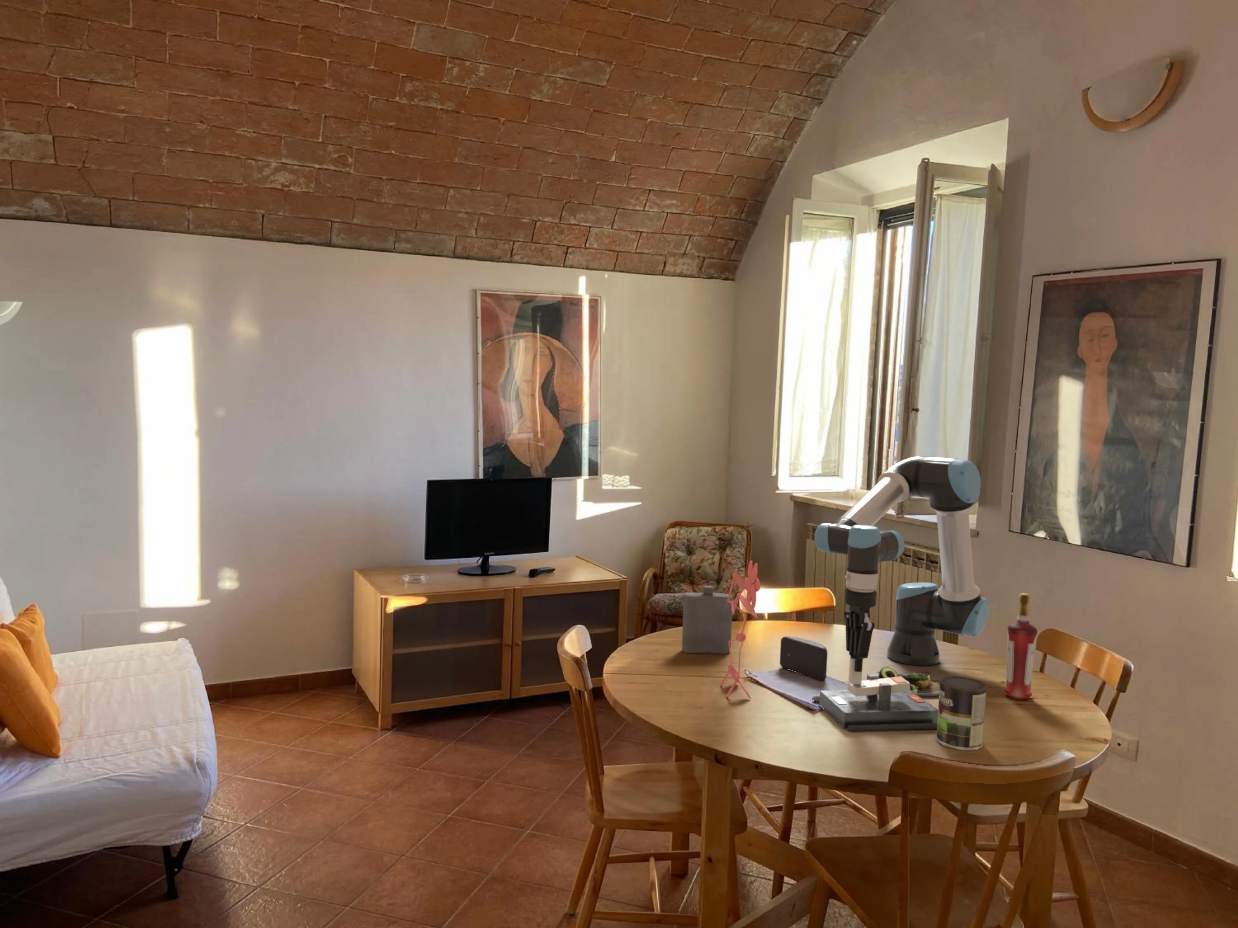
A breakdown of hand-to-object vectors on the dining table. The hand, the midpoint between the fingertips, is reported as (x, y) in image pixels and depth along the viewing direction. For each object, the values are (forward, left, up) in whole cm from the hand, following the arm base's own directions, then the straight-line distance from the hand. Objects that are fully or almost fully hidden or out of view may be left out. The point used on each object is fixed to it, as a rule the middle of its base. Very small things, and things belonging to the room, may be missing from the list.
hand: (854, 683), depth 228 cm
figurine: (+21, -20, -9) cm, 30 cm away
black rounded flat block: (+1, -34, -9) cm, 35 cm away
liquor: (-51, -11, -9) cm, 53 cm away
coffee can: (-18, +18, -9) cm, 27 cm away
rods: (-5, -1, -9) cm, 10 cm away
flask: (+23, -58, -9) cm, 63 cm away
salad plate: (-24, -21, -9) cm, 33 cm away
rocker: (-6, 0, -1) cm, 6 cm away
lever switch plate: (-6, 0, -9) cm, 11 cm away
